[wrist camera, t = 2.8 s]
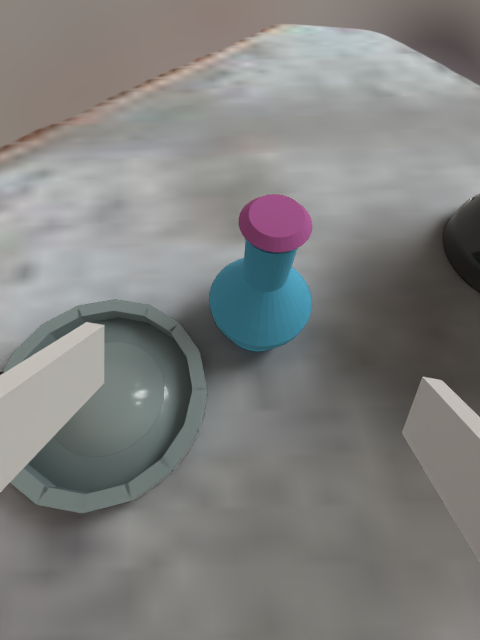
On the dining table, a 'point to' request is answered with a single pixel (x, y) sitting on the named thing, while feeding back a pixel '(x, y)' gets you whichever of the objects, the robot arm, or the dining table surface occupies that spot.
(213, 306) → the perfume bottle
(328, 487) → the dining table surface
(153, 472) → the round dish
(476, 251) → the robot arm
